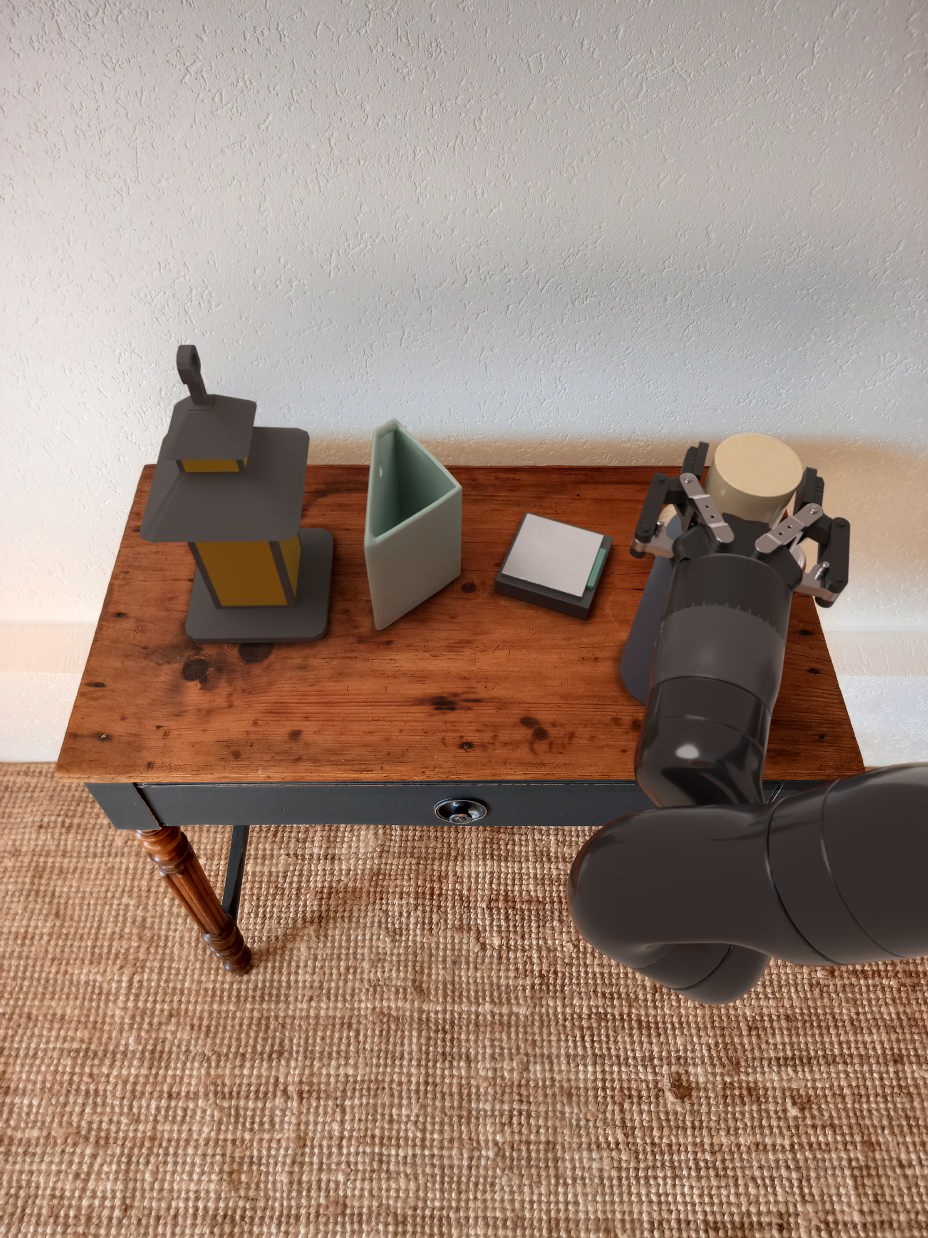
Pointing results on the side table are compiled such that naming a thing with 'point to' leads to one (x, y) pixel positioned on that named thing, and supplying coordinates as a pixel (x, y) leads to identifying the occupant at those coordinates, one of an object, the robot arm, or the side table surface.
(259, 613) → the lantern
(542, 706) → the side table surface
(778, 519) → the canister
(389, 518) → the planter
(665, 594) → the stand
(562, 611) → the scale
